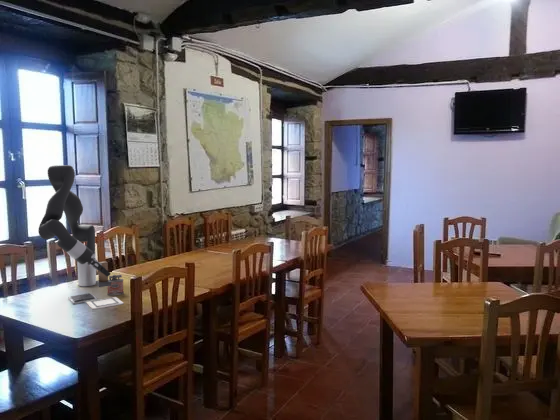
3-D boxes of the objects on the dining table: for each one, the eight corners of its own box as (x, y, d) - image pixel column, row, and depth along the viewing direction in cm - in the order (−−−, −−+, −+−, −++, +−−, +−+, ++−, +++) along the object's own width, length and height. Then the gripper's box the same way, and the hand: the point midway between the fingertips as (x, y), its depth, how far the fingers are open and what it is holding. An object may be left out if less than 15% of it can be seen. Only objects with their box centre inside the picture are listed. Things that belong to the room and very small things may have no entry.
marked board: (86, 303, 219) (86, 301, 219) (115, 297, 227) (115, 296, 227) (92, 309, 209) (92, 307, 209) (123, 303, 217) (123, 302, 217)
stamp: (95, 284, 218) (95, 262, 217) (107, 283, 221) (107, 260, 220) (99, 287, 213) (98, 264, 212) (111, 285, 216) (110, 262, 215)
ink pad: (68, 298, 226) (68, 296, 225) (91, 295, 232) (91, 292, 232) (73, 304, 217) (73, 301, 217) (97, 300, 223) (97, 297, 223)
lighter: (107, 295, 231) (106, 276, 230) (107, 293, 234) (106, 274, 233) (123, 294, 233) (122, 275, 232) (124, 292, 237) (123, 273, 235)
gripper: (89, 248, 205) (117, 270, 213) (81, 243, 216) (108, 265, 225) (77, 261, 202) (106, 283, 211) (70, 256, 214) (98, 277, 222)
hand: (107, 274), depth 218 cm, fingers closed on stamp, 4 cm apart
